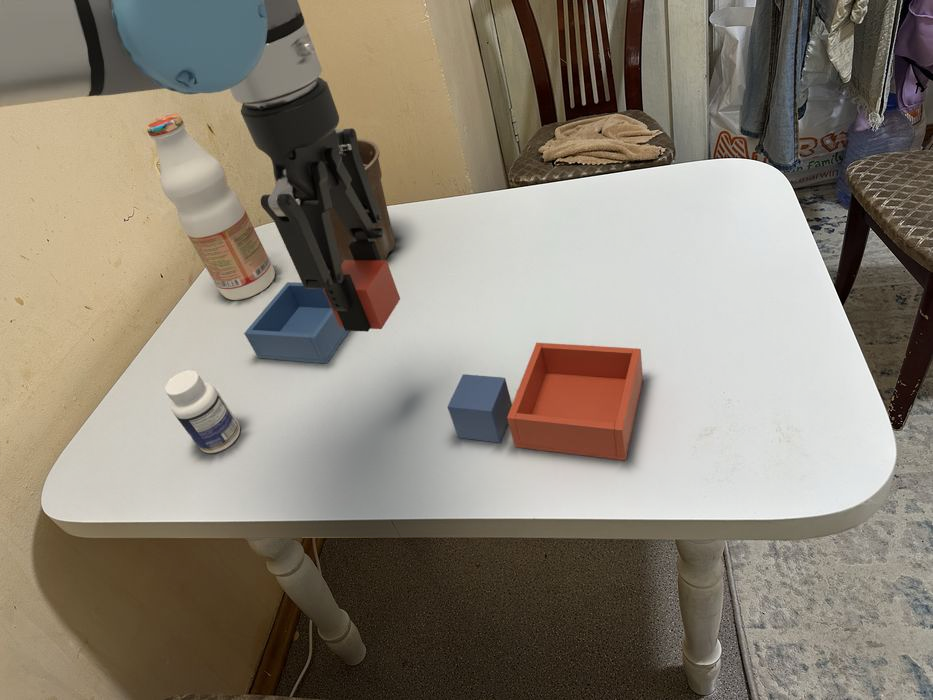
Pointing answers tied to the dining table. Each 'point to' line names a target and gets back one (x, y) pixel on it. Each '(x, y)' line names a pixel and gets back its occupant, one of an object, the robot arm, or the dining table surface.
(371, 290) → the red block
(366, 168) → the plant pot
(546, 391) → the red bin
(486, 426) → the blue block
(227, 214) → the fruit juice
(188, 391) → the pill bottle
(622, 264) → the dining table surface
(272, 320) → the blue bin
